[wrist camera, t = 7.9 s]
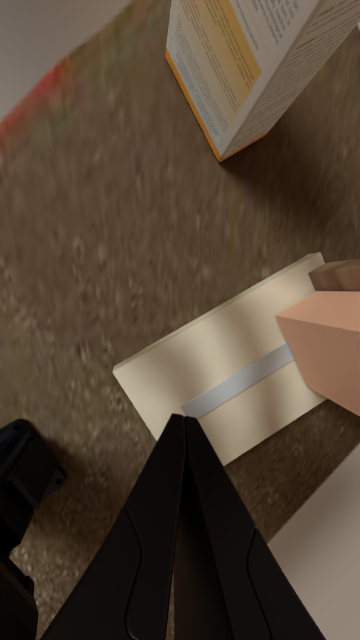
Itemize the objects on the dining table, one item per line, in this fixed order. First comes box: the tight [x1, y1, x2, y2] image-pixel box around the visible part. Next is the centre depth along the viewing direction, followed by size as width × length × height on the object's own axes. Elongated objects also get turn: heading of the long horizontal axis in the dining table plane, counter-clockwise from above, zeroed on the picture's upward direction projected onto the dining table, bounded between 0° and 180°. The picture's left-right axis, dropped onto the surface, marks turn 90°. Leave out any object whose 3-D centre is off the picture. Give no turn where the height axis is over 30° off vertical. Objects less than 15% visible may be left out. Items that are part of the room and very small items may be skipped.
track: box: [113, 252, 360, 466], centre depth 17 cm, size 19×12×8 cm, turn 118°
